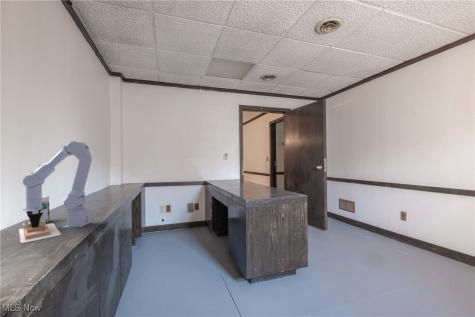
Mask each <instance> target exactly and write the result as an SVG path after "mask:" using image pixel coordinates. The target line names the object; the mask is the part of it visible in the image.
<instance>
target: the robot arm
mask: <svg viewBox="0 0 475 317" xmlns="http://www.w3.org/2000/svg"><path fill="white" fill-rule="evenodd" d="M69 156H74V157H75V158H76V159H77V160H78V163H77V168H76V172H75V176H74V179H73V184H72V188H71V191H70V192H69V193H68V195H67V198H65V200H64V201H63V206H64V208H65V209H66V225H63V226H62V229H64V228H78V227H79V228H81V227H84V226H86V225H88V224H91V220H90V219H91V215H90V214H91V213H90V209H89V208H88V207H84V205H85V203H86V196H85V195H86V193H85V188H86V184H87V180H88V177H89V176H88V175H89V173H90V168H91V166H92V161H93V157H92V155H91V151H90V147H89V146H88V145H87V144H86V143H84V142H81V141H75V140H72V141H68V142H67V143H66V144H65V145H64V146H63V147H62V148H61V149H60V150H59V152H57V153H56V154H55V156H53V157H52V158H51V159H50V160H49V161H48V162H46V163H45V162H44V163H41V164H39V165H38V167H37V169H36V170H34V171H32V172H30V174H29V175H26V176H24V178H23V179H22V184H23V185H24V187H25V194H26V195H25V204H26V206H25V208H22V211H25V212H26V215H27V218H28V219H29V222H31V226H32V228H35V227H38V226H39V222H40V218H41V216H42V214H43V212H41V213H40V211H41V209H42V208H43V207H42V196H43V191H42V190H43V189H42V188H43V187H42V186H43V184H45V181H46V179H47V178H48V177H49V176H50V175H52V173H54V172H55V170H56V169H55V167H57V166H58V165H59V164H60V163H62V162H63V161H64V160H65V159H66V158H67V157H69Z"/></svg>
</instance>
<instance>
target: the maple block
mask: <svg viewBox="0 0 475 317" xmlns="http://www.w3.org/2000/svg"><path fill="white" fill-rule="evenodd" d="M46 224H47V222H46V221H45V220H40V222H39V226H38V227H42V226H46ZM22 225H23V226H22V229H23V231H24V230H26V229H32V226H31V222H30V221H29V222H23V223H22ZM35 228H37V227H35Z"/></svg>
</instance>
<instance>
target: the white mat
mask: <svg viewBox="0 0 475 317" xmlns="http://www.w3.org/2000/svg"><path fill="white" fill-rule="evenodd" d="M46 226H47V227H48V229H49V231H50V235H45V236H40V237H35V238H31V239H26V240H25V236H24V231H23V228H19V229H18V232H19V240H20V245H24V244H27V243H32V242H37V241H41V240H47V239H50V238H55V237H60V236H62V233H61V232H60V230H59V229H58V228H57V227H56V224H54V223H53V222H51V223H46ZM41 232H45V230H40V231H35V232H30V233H28V235H31V234H36V233H41Z"/></svg>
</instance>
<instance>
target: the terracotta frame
mask: <svg viewBox="0 0 475 317" xmlns="http://www.w3.org/2000/svg"><path fill="white" fill-rule="evenodd" d="M40 230H45V232H41V233H36V234H31V235H28V233H30V232H35V231H40ZM45 235H50V231H49V229H48V227H47V226H42V227H37V228H32V229H26V230H24V236H25V240H26V239H31V238H35V237H40V236H45Z"/></svg>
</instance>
